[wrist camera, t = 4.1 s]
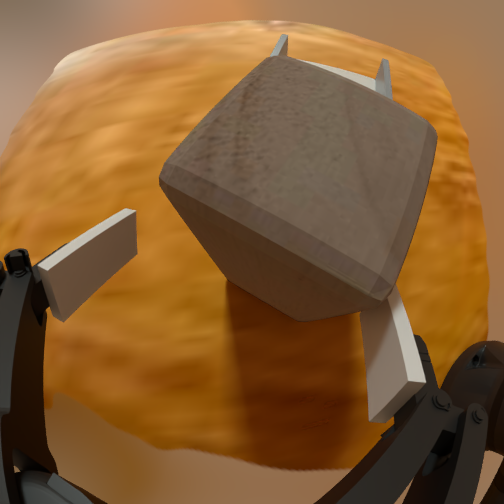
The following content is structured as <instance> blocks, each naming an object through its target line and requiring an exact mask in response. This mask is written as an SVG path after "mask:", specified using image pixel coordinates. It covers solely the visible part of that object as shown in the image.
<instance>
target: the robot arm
mask: <svg viewBox="0 0 504 504" xmlns="http://www.w3.org/2000/svg"><path fill="white" fill-rule="evenodd" d="M136 255H137V234H136V211H135V210H130V209H126V208H125V209H123V210H122V211H120V212H118V213H116V214H115V215H113V216H111V217H110V218H108V219H106V220H105V221H103V222H101V223H100V224H98V225H96V226H95V227H93V228H92V229H90V230H88V231H87V232H85V233H84V234H82V235H80V236H79V237H77V238H76V239H74V240H73V241H71V242H69V243H67V244H64V245H63V246H61V247H60V248H58V249H57V250H55V251H54V252H52V254H50V255H48V256H47V257H45V258H44V259H42V260H41V261H40V262H38V263H37V264H36V265H34V266H33V267H32V266H31V262H30V258H29V254H28V251H27V250H26V249H15V250H13V251H10V252H9V253H8V254H6V256H5V257H4V260H5V264H6V267H7V270H8V271H5V270H4V266H3V263H2V262H1V261H0V504H107V503H106V502H104V501H102V500H101V499H99V498H97V497H96V496H94V495H92V494H91V493H89V492H88V491H86V490H84V489H83V488H81V487H79V486H77V485H75V484H73V483H71V482H69V481H67V480H66V479H64V478H62V477H60V476H59V475H58V470H57V467H56V463H55V460H54V458H53V456H52V455H51V453H50V451H49V448H48V444H47V437H46V428H45V417H44V398H43V362H44V344H45V331H46V322H47V313H46V309H47V308H48V307H49V306H50V309H51V312H52V314H53V316H54V317H55V318H57V319H59V320H60V321H62V322H65V321H66V320H67V319H68V318H69V317H70V316H71V315H72V314H73V313H74V312H75V311H76V310H77V309H78V308H79V307H80V306H81V305H82V304H83V303H84V302H85V301H86V300H87V299H88V298H89V297H90V296H91V295H92V294H93V293H94V292H95V291H97V290H98V289H99V288H100V287H101V286H102V285H103V284H104V283H105V282H106V281H107V280H108V279H110V278H111V277H112V276H113V275H114V274H115V273H116V272H117V271H118V270H120V269H121V268H122V267H123V266H124V265H125V264H126V263H128V262H129V261H130V260H131V259H132V258H133V257H134V256H136ZM360 321H361V328H362V336H363V345H364V354H365V365H366V376H367V390H368V409H369V422H379V423H386V422H387V421H388V420H389V419H390V418H392V417H393V416H394V423H395V424H394V425H392V426H391V427H390V428H389V429H388V430H386V431H385V432H384V433H383V434H382V435H380V436H381V437H382V438H381V439H380V440H379V441H378V443H377V444H376V445H375V446H374V447H373V448H372V449H371V450H370V451H369V453H368V454H367V455H366V456H365V457H364V458H363V459H362V460H361V461H360V462H359V463H358V464H357V465H356V466H355V467H354V468H353V469H352V470H351V471H350V472H349V473H348V474H347V475H346V476H345V477H344V478H343V479H342V480H341V481H340V482H339V483H337V484H336V485H335V486H334V487H333V488H332V489H331V490H330V491H329V492H327V493H326V494H325V495H324V496H323V497H322V498H321V499H319V500H318V501H317V502H315V503H314V504H394V503H395V502H396V500H397V499H398V498H399V497H400V495H401V494H402V493H403V491H404V490H405V489H406V487H407V486H408V485H409V483H410V482H411V480H412V479H413V478H414V479H413V481H412V483H411V486H410V488H409V490H408V493H407V495H406V497H405V499H404V501H403V503H402V504H473V501H474V497H475V494H476V490H477V486H478V482H479V478H480V473H481V468H482V463H483V458H484V452H485V451H488V450H490V451H493V452H496V453H498V454H500V455H502V456H504V343H502V342H499V341H481V342H478V343H475V344H473V345H472V346H470V347H469V348H468V349H466V350H465V351H464V352H463V353H462V354H461V355H460V356H459V357H458V359H457V360H456V361H455V363H454V364H453V365H452V367H451V369H450V370H449V372H448V374H447V376H446V378H445V380H444V382H443V384H442V387H441V389H439V388H438V385H437V381H436V377H435V373H434V370H433V366H432V363H431V360H430V356H429V355H428V354H429V353H428V350H427V347H426V344H425V343H424V341H423V340H422V338H421V337H420V336H419V335H414V334H413V333H412V329H411V326H410V323H409V320H408V317H407V314H406V311H405V308H404V305H403V303H402V300H401V297H400V294H399V292H398V289H397V286H396V284H395V285H394V288H393V290H392V293H391V294H390V295H389V296H388V297H387V298H386V299H385V300H384V301H383V302H382V303H381V304H380V305H379V306H378V307H377V308H373V309H368V310H364V311H361V313H360ZM14 466H16V467H17V468H18V469H19V470H20V471H21V472H16V473H15V472H14ZM480 504H504V458H503V461H502V463H501V465H500V467H499V469H498V471H497V473H496V475H495V477H494V479H493V481H492V483H491V485H490V487H489V489H488V491H487V492H486V494H485V496H484V497H483V499H482V501H481V502H480Z"/></svg>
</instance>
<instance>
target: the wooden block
mask: <svg viewBox="0 0 504 504" xmlns="http://www.w3.org/2000/svg"><path fill="white" fill-rule="evenodd" d="M437 137H438V136H437V133H436V130H435V129H434V128H433V126H432V125H431V124H430V123H429V122H428V121H427V120H425V119H424V118H422V117H421V116H419V115H417V114H416V113H414V112H412V111H411V110H409V109H407V108H406V107H404V106H402V105H400V104H399V103H397V102H395V101H393V100H391V99H389V98H388V97H386V96H384V95H382V94H380V93H378V92H376V91H374V90H372V89H370V88H368V87H366V86H363V85H361V84H359V83H357V82H355V81H352V80H350V79H348V78H345V77H343V76H341V75H338V74H336V73H333V72H331V71H328V70H326V69H323V68H320V67H318V66H315V65H312V64H309V63H306V62H303V61H300V60H297V59H294V58H291V57H288V56H271V57H268V58H266V59H265V60H264V61H262V62H261V63H260V64H259V65H258V66H257V67H256V68H254V69H253V70H252V71H251V72H250V73H249V74H248V75H247V76H246V77H245V78H243V79H242V80H241V81H240V82H239V83H238V84H237V85H236V86H235V87H234V88H233V89H232V90H231V91H230V92H229V93H228V94H227V95H226V96H225V97H224V98H223V99H222V100H221V101H220V102H219V103H218V104H217V105H216V106H215V107H214V108H213V109H212V110H211V111H210V112H209V113H208V114H207V115H206V116H205V117H204V118H203V119H202V120H201V121H200V123H199V124H198V125H197V126H196V127H195V128H194V129H193V130H192V131H191V132H190V134H189V135H188V136H187V137H186V138H185V139H184V140H183V141H182V143H181V144H180V145H179V146H178V147H177V148H176V150H175V151H174V152H173V153H172V154H171V156H170V157H169V158H168V159H167V160H166V162H165V163H164V165H163V168H162V171H161V173H160V176H159V185H160V187H161V189H162V190H163V192H164V193H165V195H166V196H167V198H168V199H169V201H170V202H171V203H172V205H173V206H174V208H175V209H176V210H177V212H178V213H179V215H180V216H181V217H182V219H183V220H184V222H185V223H186V224H187V226H188V227H189V228H190V230H191V231H192V233H193V234H194V235H195V237H196V238H197V239H198V241H199V242H200V243H201V245H202V246H203V247H204V249H205V250H206V252H207V253H208V254H209V256H210V257H211V258H212V260H213V261H214V262H215V264H216V265H217V266H218V268H219V269H220V270H221V272H222V273H223V274H224V275H225V277H226V278H227V279H228V280H229V281H230V282H232V283H233V284H235V285H237V286H238V287H240V288H242V289H243V290H245V291H247V292H248V293H250V294H252V295H254V296H255V297H257V298H259V299H260V300H262V301H264V302H265V303H267V304H269V305H270V306H272V307H274V308H276V309H277V310H279V311H281V312H283V313H284V314H286V315H288V316H289V317H291V318H293V319H295V320H296V321H301V322H308V321H314V320H319V319H325V318H330V317H335V316H340V315H345V314H350V313H355V312H359V311H364V310H368V309H373V308H377V307H378V306H379V305H380V304H381V303H382V302H383V301H384V300H385V299H386V298H387V297H388V296H389V295H390V294H391V293H392V290H393V288H394V285H395V283H396V281H397V278H398V276H399V273H400V271H401V268H402V265H403V263H404V260H405V257H406V255H407V252H408V249H409V246H410V243H411V241H412V238H413V235H414V232H415V229H416V225H417V222H418V219H419V216H420V212H421V209H422V205H423V202H424V198H425V194H426V191H427V187H428V183H429V179H430V174H431V170H432V166H433V161H434V156H435V151H436V145H437Z"/></svg>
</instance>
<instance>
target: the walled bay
mask: <svg viewBox="0 0 504 504" xmlns="http://www.w3.org/2000/svg"><path fill="white" fill-rule="evenodd" d="M287 50H288V35H284V34H282V35H281V37H280V39H279V41H278V42H277V44H276V46H275V48H274V50H273V52H272V54H271V55H270V57H271V56H287ZM297 60H298V59H297ZM300 61H303V62H306V63H309V64H312V65H315V66H318V67H320V68H323V69H326V70H328V71H331V72H333V73H336V74H338V75H341V76H343V77H345V78H348V79H350V80H352V81H355V82H357V83H359V84H361V85H363V86H366V87H368V88H370V89H372V90H374V91H376V92H378V93H380V94H382V95H384V96H386V97H388V98H389V99H391V100H392V88H391V78H390V69H389V62H388V60H386V59H382V61H381V64H380V67H379V70H378V73H377V76H376V79H372V78H369V77H366V76H363V75H360V74H356V73H353V72H350V71H346V70H342V69H339V68H335V67H331V66H327V65H322V64H318V63H313V62H309V61H304V60H300Z"/></svg>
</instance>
